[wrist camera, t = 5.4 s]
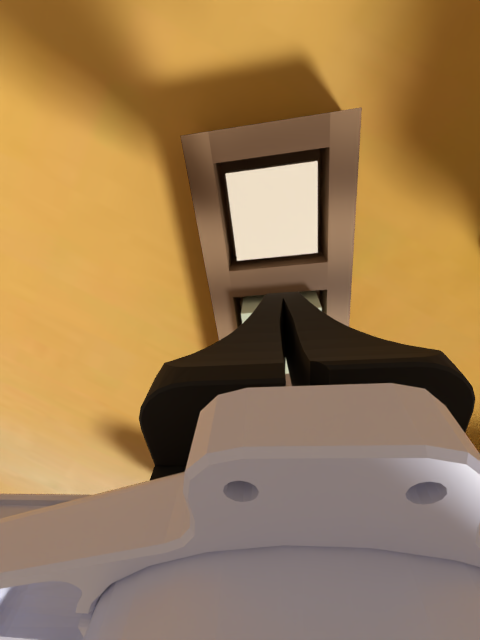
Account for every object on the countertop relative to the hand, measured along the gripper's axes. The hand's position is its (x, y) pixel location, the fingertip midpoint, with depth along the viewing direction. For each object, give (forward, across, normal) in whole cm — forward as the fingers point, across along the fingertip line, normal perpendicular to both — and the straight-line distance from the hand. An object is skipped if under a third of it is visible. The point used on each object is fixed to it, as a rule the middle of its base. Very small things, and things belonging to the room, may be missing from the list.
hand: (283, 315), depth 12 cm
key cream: (+8, 0, -3) cm, 9 cm away
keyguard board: (+8, 0, +8) cm, 11 cm away
